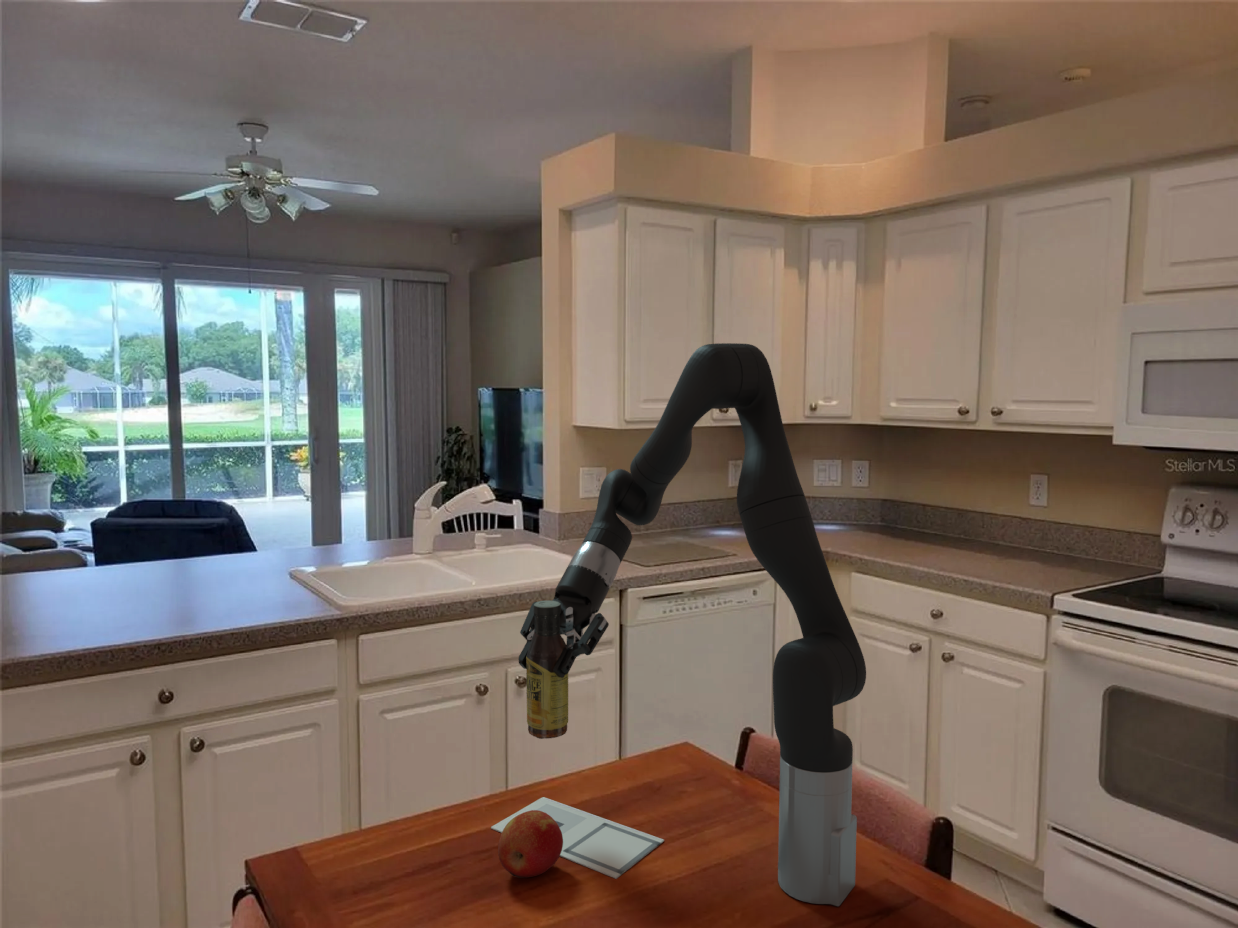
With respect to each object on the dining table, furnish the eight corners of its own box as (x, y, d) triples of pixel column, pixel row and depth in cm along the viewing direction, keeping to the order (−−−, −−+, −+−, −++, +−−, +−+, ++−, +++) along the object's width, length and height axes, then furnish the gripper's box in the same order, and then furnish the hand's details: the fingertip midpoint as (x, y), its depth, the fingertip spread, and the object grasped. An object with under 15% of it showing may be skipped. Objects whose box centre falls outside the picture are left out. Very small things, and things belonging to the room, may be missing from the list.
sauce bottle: (522, 728, 128) (519, 599, 127) (562, 722, 130) (559, 595, 129) (533, 744, 122) (530, 609, 121) (574, 737, 124) (572, 605, 123)
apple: (571, 868, 115) (571, 811, 114) (532, 897, 108) (531, 837, 107) (527, 850, 119) (526, 796, 119) (486, 877, 112) (485, 820, 112)
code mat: (664, 840, 122) (664, 839, 122) (616, 878, 112) (616, 877, 112) (543, 797, 135) (543, 796, 135) (490, 828, 125) (490, 826, 125)
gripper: (542, 558, 134) (491, 649, 126) (615, 568, 126) (566, 666, 117) (563, 585, 139) (516, 674, 130) (635, 596, 131) (590, 692, 122)
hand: (540, 670), depth 124 cm, fingers closed on sauce bottle, 6 cm apart
